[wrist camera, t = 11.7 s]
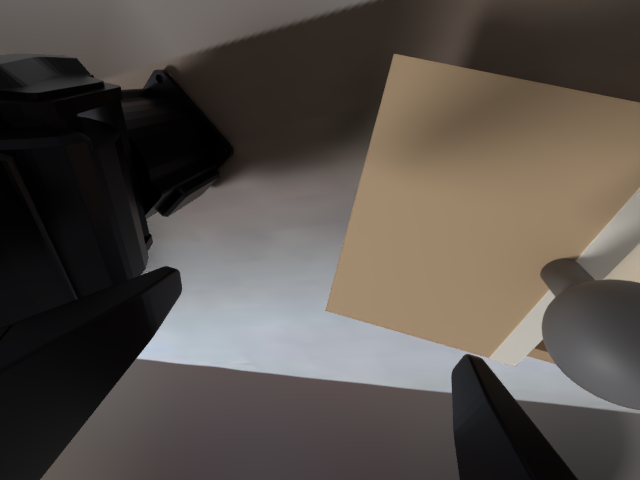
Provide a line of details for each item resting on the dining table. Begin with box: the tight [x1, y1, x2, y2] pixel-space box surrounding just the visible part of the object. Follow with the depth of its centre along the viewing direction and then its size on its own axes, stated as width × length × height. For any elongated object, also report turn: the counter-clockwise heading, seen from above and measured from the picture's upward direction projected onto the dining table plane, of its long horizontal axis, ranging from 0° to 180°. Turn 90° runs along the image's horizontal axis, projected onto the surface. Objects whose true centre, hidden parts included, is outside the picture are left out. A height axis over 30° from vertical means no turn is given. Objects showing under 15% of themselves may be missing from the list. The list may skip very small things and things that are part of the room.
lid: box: [325, 54, 640, 410], centre depth 11 cm, size 13×14×7 cm
